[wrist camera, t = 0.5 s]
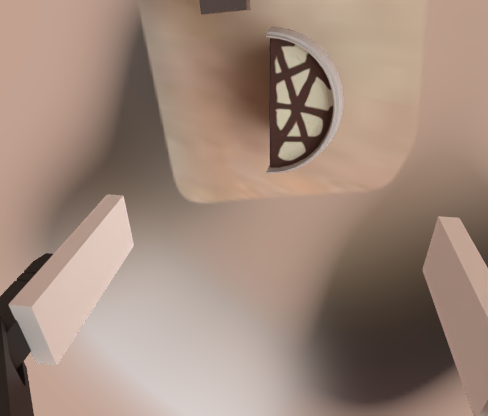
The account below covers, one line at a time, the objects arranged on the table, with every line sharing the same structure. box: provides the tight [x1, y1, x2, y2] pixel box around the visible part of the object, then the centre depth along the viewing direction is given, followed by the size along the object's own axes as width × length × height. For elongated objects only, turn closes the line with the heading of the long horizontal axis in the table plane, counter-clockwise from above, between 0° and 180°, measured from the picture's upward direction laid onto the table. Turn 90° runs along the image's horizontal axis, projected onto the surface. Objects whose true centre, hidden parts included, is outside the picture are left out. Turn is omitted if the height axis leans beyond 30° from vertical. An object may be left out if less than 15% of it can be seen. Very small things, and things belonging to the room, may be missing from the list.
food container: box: [266, 27, 343, 173], centre depth 36 cm, size 12×6×10 cm, turn 2°
